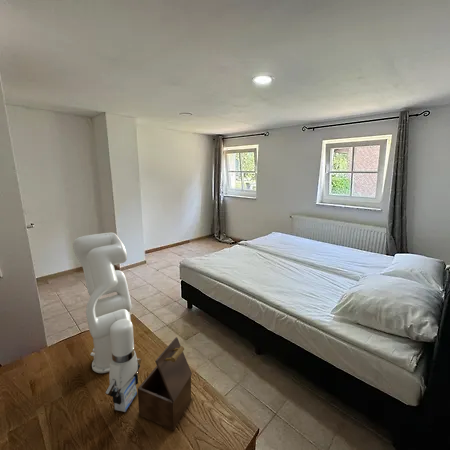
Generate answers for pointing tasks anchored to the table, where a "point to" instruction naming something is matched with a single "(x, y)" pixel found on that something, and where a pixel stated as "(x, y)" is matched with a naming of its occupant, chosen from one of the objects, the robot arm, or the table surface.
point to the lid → (173, 368)
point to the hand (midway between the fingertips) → (126, 392)
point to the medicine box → (127, 394)
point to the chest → (162, 401)
